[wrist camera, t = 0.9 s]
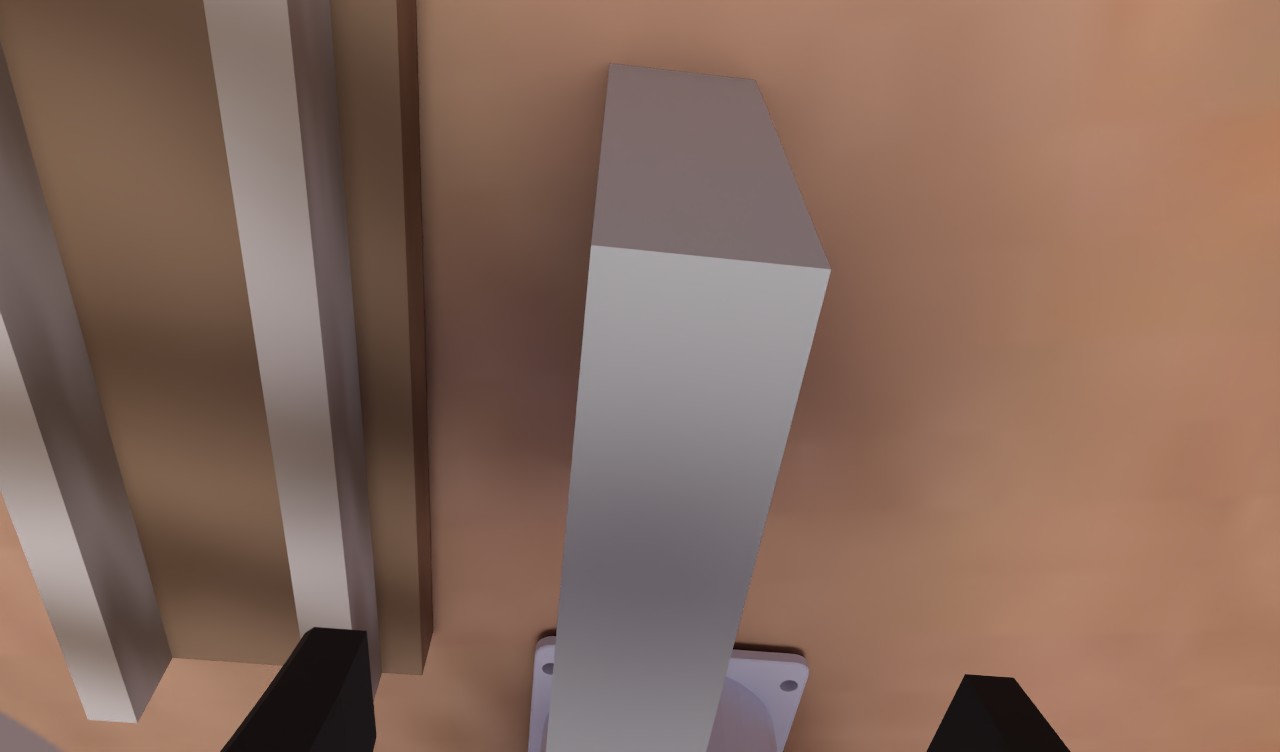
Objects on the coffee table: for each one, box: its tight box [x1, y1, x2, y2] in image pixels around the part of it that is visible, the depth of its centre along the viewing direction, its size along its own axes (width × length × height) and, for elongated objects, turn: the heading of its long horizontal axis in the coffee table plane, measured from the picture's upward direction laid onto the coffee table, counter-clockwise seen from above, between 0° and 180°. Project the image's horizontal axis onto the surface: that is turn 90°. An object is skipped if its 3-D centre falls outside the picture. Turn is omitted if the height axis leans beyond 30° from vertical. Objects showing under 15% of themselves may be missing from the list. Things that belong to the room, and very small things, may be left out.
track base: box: [0, 0, 433, 723], centre depth 19 cm, size 18×9×4 cm, turn 174°
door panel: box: [546, 63, 831, 752], centre depth 16 cm, size 10×3×8 cm, turn 174°
